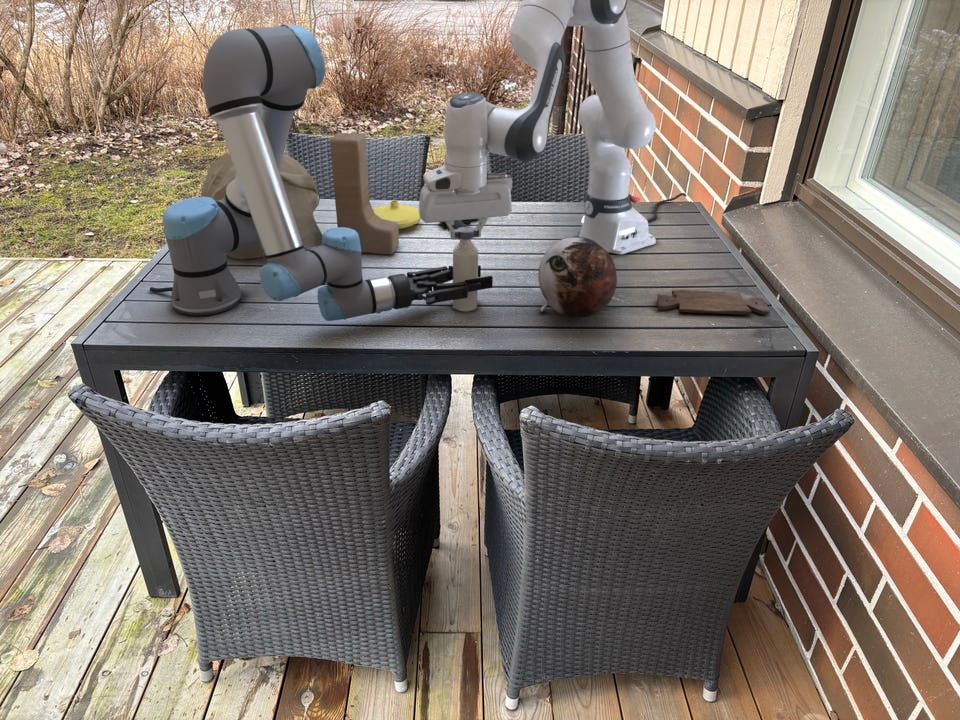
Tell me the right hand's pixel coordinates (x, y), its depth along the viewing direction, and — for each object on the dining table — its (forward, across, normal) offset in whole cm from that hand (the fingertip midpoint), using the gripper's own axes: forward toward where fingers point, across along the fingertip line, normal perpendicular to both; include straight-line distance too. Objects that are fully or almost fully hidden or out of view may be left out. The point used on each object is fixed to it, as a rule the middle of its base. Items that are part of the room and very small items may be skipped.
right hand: (465, 237), depth 158 cm
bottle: (+17, 0, 0) cm, 17 cm away
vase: (+17, +5, -57) cm, 60 cm away
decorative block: (+17, +16, -40) cm, 46 cm away
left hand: (+10, -5, -1) cm, 11 cm away
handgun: (+17, -15, -51) cm, 55 cm away
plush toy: (+17, -23, +10) cm, 30 cm away
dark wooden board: (+17, -56, +15) cm, 60 cm away
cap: (-2, 0, 0) cm, 2 cm away
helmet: (+17, +42, -50) cm, 67 cm away
